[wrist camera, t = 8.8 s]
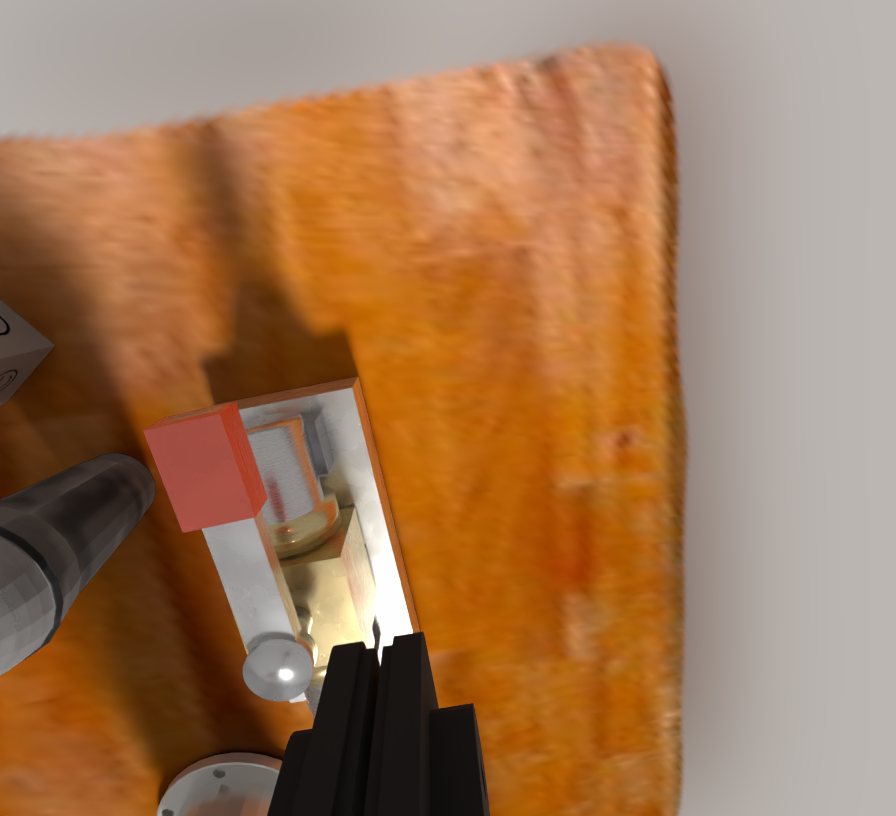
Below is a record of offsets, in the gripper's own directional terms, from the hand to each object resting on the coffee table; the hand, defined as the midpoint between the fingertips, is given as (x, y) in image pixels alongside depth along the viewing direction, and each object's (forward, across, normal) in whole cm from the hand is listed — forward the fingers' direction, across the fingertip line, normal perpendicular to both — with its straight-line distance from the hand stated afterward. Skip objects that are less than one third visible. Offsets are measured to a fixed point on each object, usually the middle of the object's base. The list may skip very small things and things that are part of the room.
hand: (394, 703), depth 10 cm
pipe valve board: (+25, +8, +9) cm, 27 cm away
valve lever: (+14, +8, +3) cm, 16 cm away
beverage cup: (+25, +20, +3) cm, 32 cm away
